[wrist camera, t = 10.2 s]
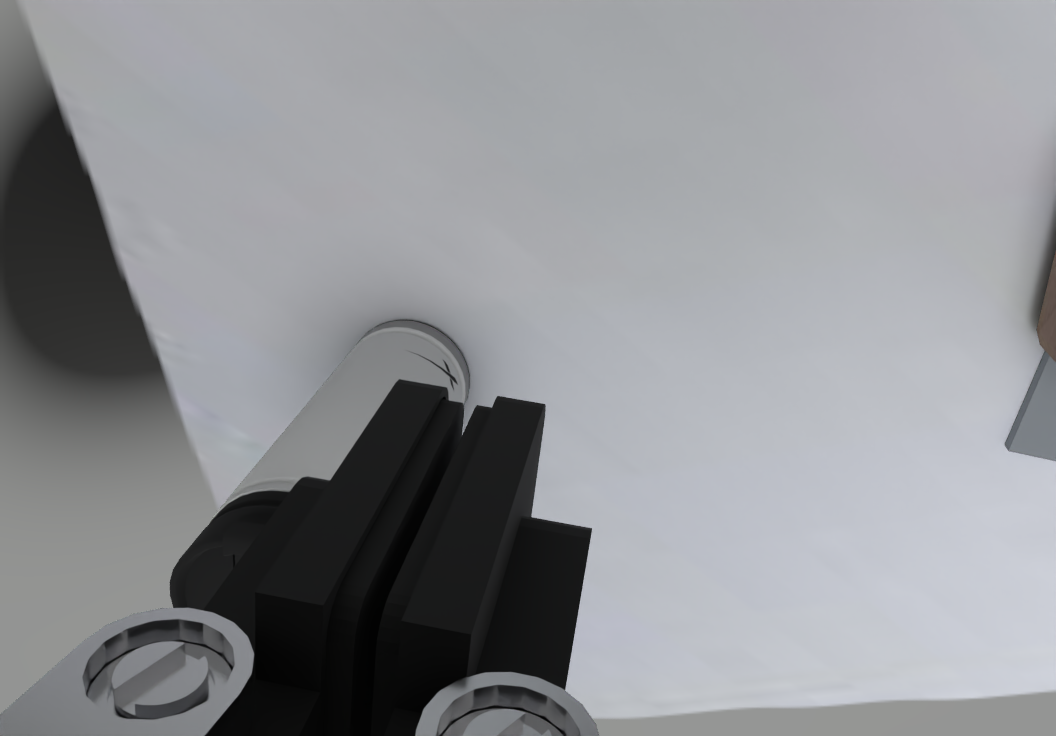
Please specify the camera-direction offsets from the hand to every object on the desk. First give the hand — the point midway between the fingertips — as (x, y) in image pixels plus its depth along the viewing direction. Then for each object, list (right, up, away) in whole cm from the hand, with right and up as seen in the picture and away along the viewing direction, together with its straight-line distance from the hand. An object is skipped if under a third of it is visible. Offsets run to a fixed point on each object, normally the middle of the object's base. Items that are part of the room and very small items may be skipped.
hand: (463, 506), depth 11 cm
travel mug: (-5, +1, +38) cm, 39 cm away
